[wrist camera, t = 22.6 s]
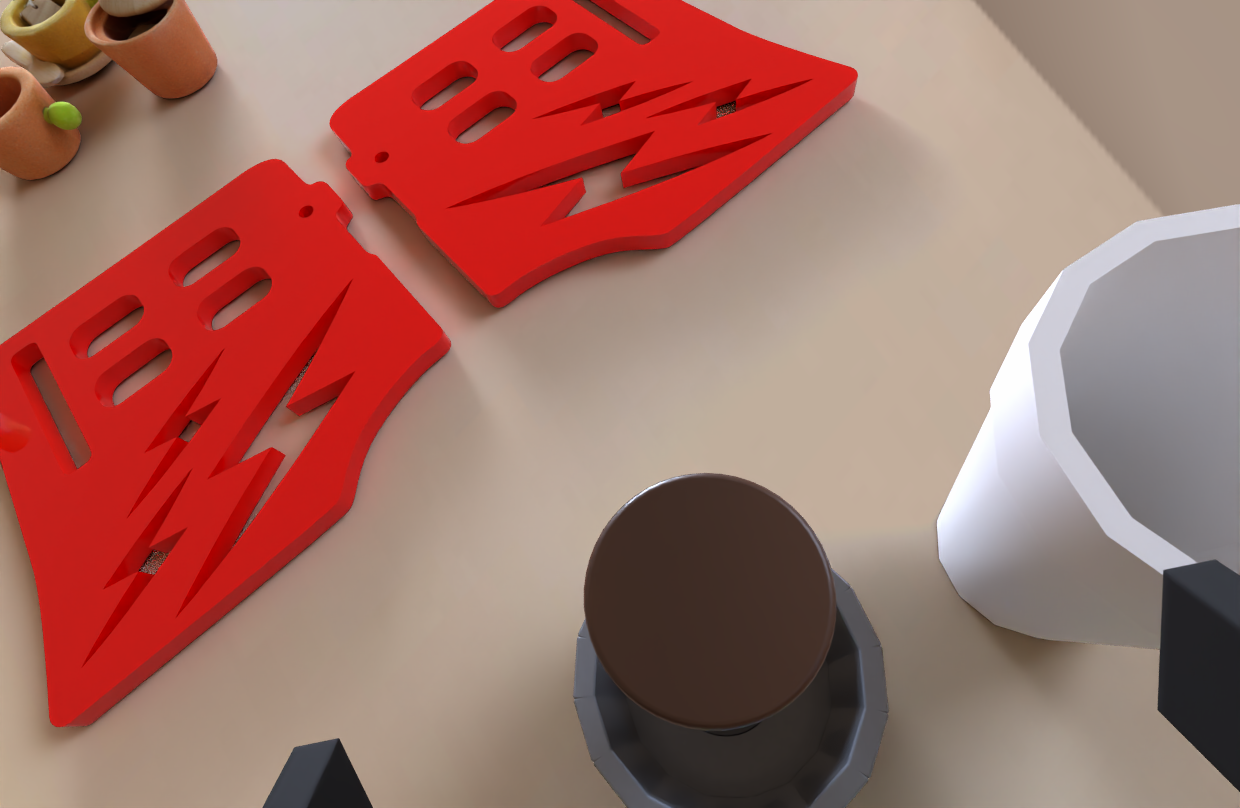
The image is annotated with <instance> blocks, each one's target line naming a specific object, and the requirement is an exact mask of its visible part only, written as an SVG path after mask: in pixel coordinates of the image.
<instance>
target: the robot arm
mask: <svg viewBox="0 0 1240 808" xmlns="http://www.w3.org/2000/svg"><path fill="white" fill-rule="evenodd" d="M1158 711H1159V712H1160V713H1161V714H1162V715H1163V716H1164V717H1165V718H1166V719H1167V720H1168V721H1169V722H1170V723H1171V724H1172V725H1173V726H1174V727H1175V728H1176V729H1177V730H1178V731H1179V732H1180V733H1181V734H1182V735H1183V736H1184V737H1185V738H1186V739H1187V740H1188V741H1189V742H1190V743H1191V744H1192V745H1193V746H1194V747H1195V748H1196V749H1197V750H1198V751H1199V752H1200V753H1201V754H1202V755H1203V756H1204V757H1205V758H1206V759H1207V760H1208V761H1209V762H1210V763H1211V764H1212V765H1213V766H1214V767H1215V768H1216V769H1217V770H1218V771H1219V772H1220V773H1221V774H1222V775H1223V776H1224V777H1225V778H1226V779H1227V780H1228V781H1229V782H1230V783H1231V784H1232V785H1233V786H1234V787H1235V788H1236V789H1237V790H1238V791H1239V792H1240V575H1238V574H1237V573H1235V572H1234V571H1232V570H1231V569H1229V568H1228V567H1226V566H1225V565H1223V564H1222V563H1220V562H1219V561H1217V560H1216V559H1215V560H1210V561H1205V562H1200V563H1195V564H1190V565H1185V566H1180V567H1175V568H1171V569H1166V570H1163V589H1162V614H1161V638H1160V662H1159V687H1158ZM263 808H373V807H372V805H371V803H370V801H369V799H368V797H367V795H366V793H365V791H364V788H363V786H362V784H361V782H360V780H359V778H358V776H357V774H356V772H355V770H354V768H353V766H352V764H351V762H350V760H349V758H348V756H347V754H346V752H345V750H344V748H343V745H342V743H341V741H340V739H339V738H338V739H333V740H328V741H323V742H318V743H313V744H308V745H303V746H299V747H294V749H293V751H292V753H291V755H290V757H289V759H288V761H287V762H286V764H285V766H284V768H283V770H282V772H281V774H280V776H279V777H278V779H277V781H276V783H275V785H274V787H273V789H272V791H271V793H270V794H269V796H268V798H267V800H266V802H265V804H264V806H263Z"/></svg>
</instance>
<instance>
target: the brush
mask: <svg viewBox="0 0 1240 808" xmlns="http://www.w3.org/2000/svg"><path fill="white" fill-rule="evenodd" d="M584 611H585V619H586V625H587V629H588V632H589V636H590V640H591V642H592V645H593V647H594V650H595V652H596V655H597V657H598V659H599V660H600V662H601V664H602V666H603V668H604V669H605V671H606V672H607V674H608V675H609V676H610V678H611V679H612V681H613V682H614V683H615V685H616V686H617V687H618V688H619V689H620V690H621V691H622V692H623V693H624V694H625V695H626V696H627V697H628V698H629V699H631V700H632V701H633V702H634V703H636V704H637V705H638V706H639V707H641V708H642V709H644V710H645V711H647V712H649V713H650V714H652V715H654V716H655V717H657V718H660V719H662V720H664V721H667V722H669V723H671V724H674V725H678V726H682V727H685V728H689V729H696V730H702V731H704V732H706V733H709V734H712V735H716V736H723V737H730V736H737V735H741V734H744V733H746V732H748V731H750V730H752V729H753V728H755V727H756V726H758V725H759V724H760V723H761V722H762V721H764V720H766V719H768V718H770V717H772V716H774V715H776V714H777V713H779V712H780V711H782V710H783V709H784V708H786V707H787V706H789V705H790V704H791V703H792V702H794V701H795V700H796V699H797V698H798V697H799V696H800V695H801V694H802V693H803V692H804V691H805V690H806V688H807V687H808V686H809V685H810V683H811V682H812V681H813V680H814V678H815V677H816V675H817V673H818V672H819V670H820V668H821V667H822V665H823V663H824V661H825V658H826V656H827V653H828V651H829V649H830V646H831V642H832V638H833V634H834V630H835V622H836V613H837V608H836V590H835V583H834V577H833V574H832V570H831V567H830V563H829V560H828V558H827V556H826V553H825V551H824V549H823V546H822V544H821V543H820V541H819V539H818V538H817V536H816V534H815V533H814V531H813V530H812V528H811V527H810V526H809V524H808V523H807V522H806V521H805V519H804V518H803V517H802V516H801V515H800V514H799V513H798V512H797V511H796V510H795V509H794V508H793V507H792V506H791V505H790V504H788V503H787V502H786V501H785V500H783V499H782V498H781V497H780V496H778V495H776V494H775V493H773V492H772V491H770V490H768V489H767V488H765V487H763V486H760V485H758V484H756V483H754V482H751V481H748V480H745V479H742V478H739V477H735V476H730V475H724V474H714V473H699V474H688V475H683V476H678V477H674V478H671V479H668V480H665V481H662V482H659V483H657V484H655V485H653V486H651V487H649V488H647V489H645V490H644V491H642V492H640V493H639V494H637V495H636V496H634V497H633V498H632V499H631V500H629V501H628V502H627V503H626V504H625V505H623V506H622V507H621V508H620V510H619V511H618V512H617V513H616V514H615V515H614V516H613V517H612V518H611V520H610V521H609V522H608V524H607V525H606V527H605V528H604V529H603V531H602V533H601V535H600V537H599V538H598V540H597V542H596V544H595V547H594V549H593V552H592V554H591V557H590V560H589V564H588V568H587V572H586V577H585V585H584Z"/></svg>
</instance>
